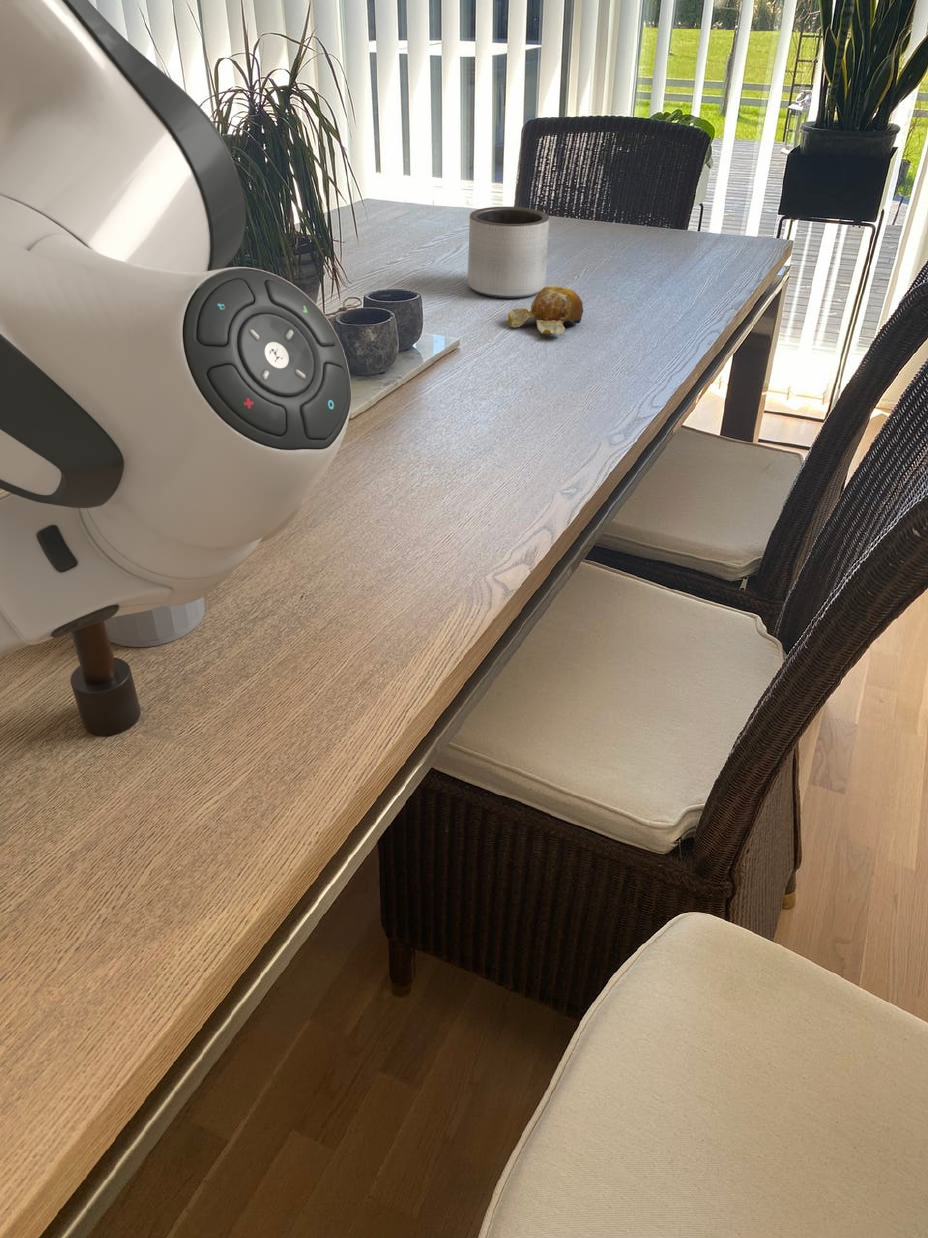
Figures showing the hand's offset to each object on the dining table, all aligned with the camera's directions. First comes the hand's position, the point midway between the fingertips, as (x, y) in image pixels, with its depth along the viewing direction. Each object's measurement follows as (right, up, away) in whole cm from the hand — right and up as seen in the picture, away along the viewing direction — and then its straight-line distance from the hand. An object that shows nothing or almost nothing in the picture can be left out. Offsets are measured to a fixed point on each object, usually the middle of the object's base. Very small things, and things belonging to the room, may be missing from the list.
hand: (105, 596), depth 59 cm
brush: (-3, -9, +10) cm, 13 cm away
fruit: (+33, +38, +78) cm, 93 cm away
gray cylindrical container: (-4, -1, +20) cm, 20 cm away
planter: (+29, +52, +95) cm, 112 cm away
